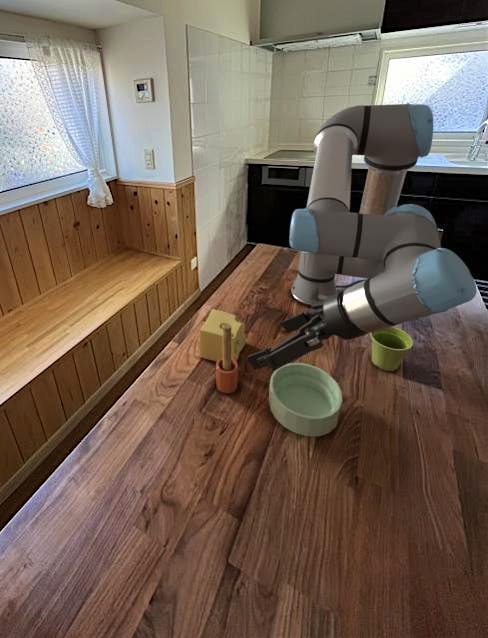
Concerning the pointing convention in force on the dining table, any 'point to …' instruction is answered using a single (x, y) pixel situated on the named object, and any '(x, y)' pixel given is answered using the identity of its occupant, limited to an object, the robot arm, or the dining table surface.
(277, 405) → the bowl
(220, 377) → the utensil cup
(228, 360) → the stick
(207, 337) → the cheese
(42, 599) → the dining table surface
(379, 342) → the plant pot
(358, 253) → the robot arm
